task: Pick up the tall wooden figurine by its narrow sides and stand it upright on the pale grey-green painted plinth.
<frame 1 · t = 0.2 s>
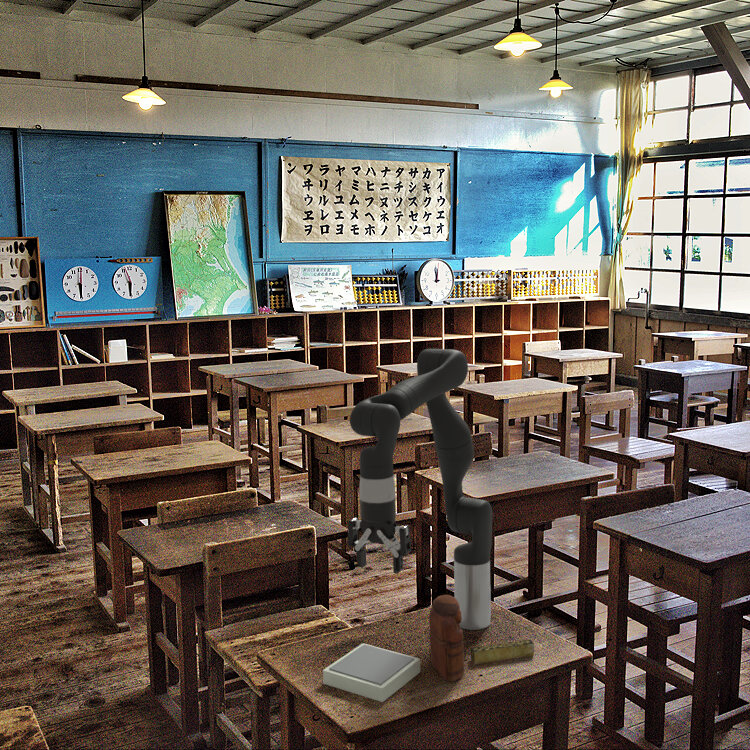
hand: (379, 569, 187), 29 cm above the table, fingers open, 8 cm apart
plinth: (372, 677, 200), on the table
wooden figurine: (447, 671, 202), on the table
decorative block: (502, 659, 208), on the table
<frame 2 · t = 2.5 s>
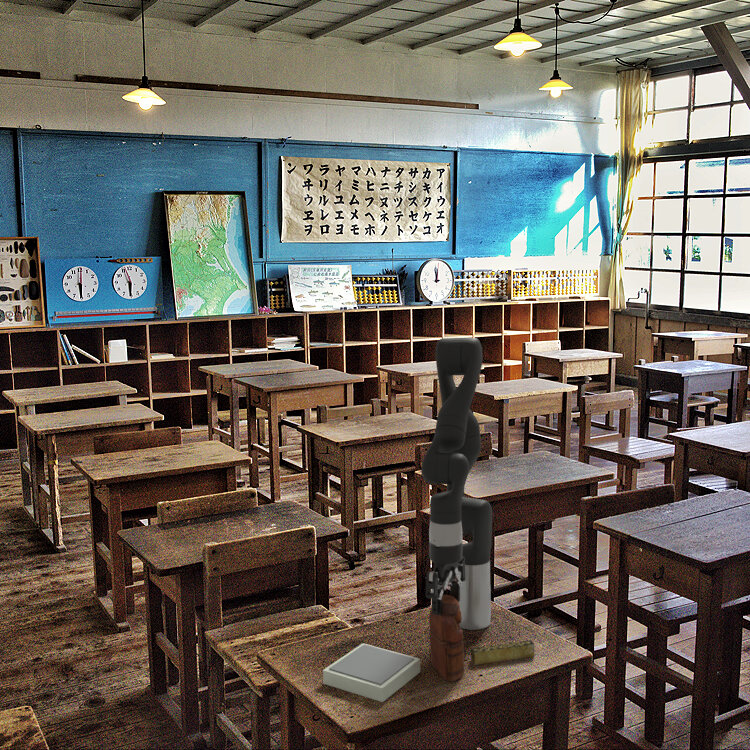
hand: (446, 607, 200), 15 cm above the table, fingers open, 8 cm apart
wooden figurine: (447, 671, 202), on the table, touching gripper
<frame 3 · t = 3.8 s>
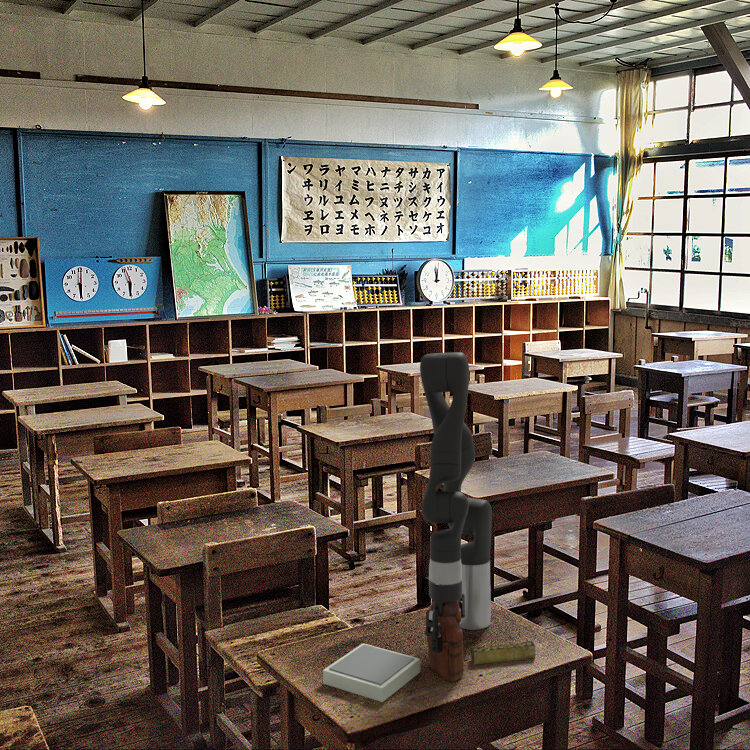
hand: (446, 645, 201), 6 cm above the table, fingers closed on wooden figurine, 8 cm apart
wooden figurine: (446, 671, 202), on the table, touching gripper
everything else where it was.
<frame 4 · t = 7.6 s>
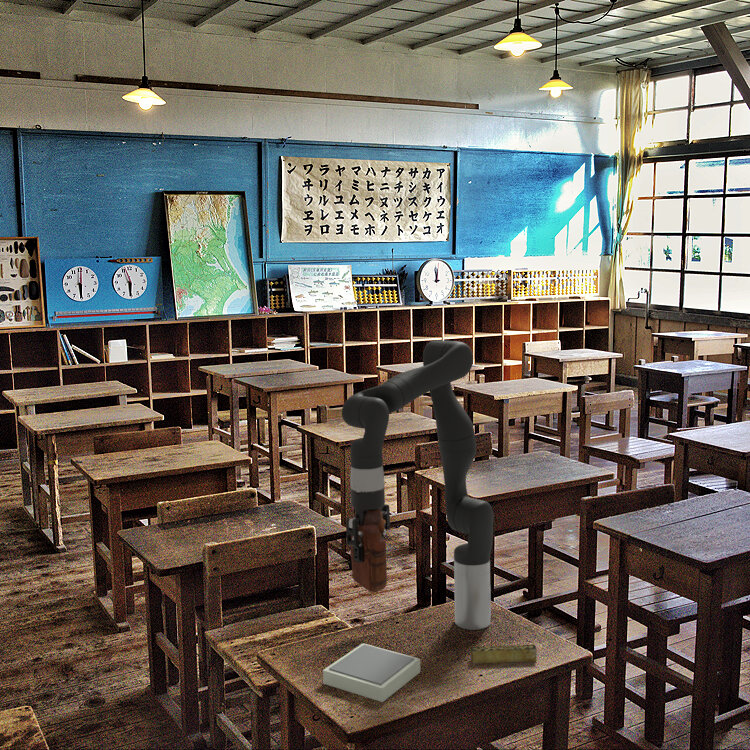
hand: (369, 556, 196), 29 cm above the table, fingers closed on wooden figurine, 8 cm apart
wooden figurine: (369, 584, 197), point 22 cm above the table, touching gripper
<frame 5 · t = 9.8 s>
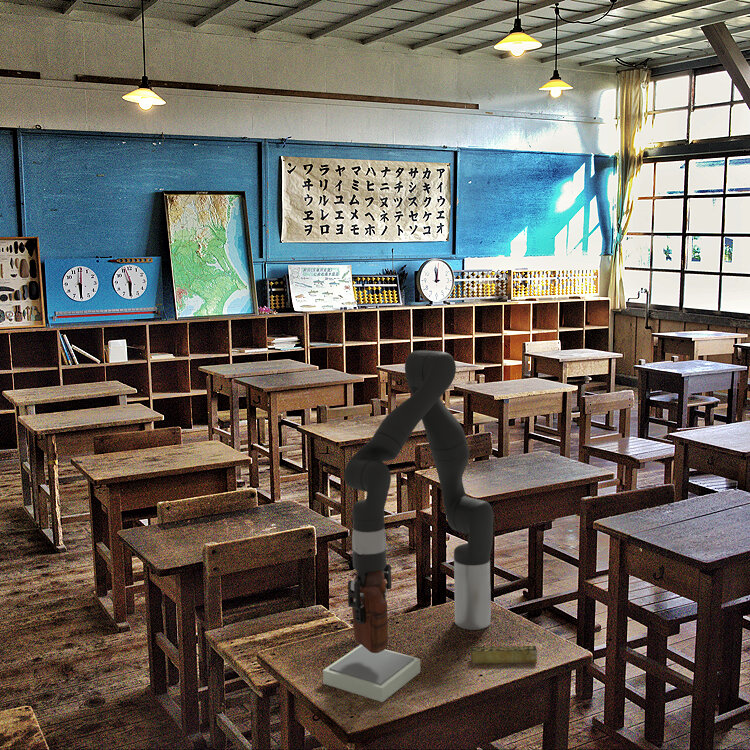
hand: (370, 616, 198), 15 cm above the table, fingers closed on wooden figurine, 8 cm apart
wooden figurine: (371, 643, 199), point 8 cm above the table, touching gripper
when the fingers open (10 cm above the table, at t = 11.5 s): wooden figurine stays where it is, resting on plinth.
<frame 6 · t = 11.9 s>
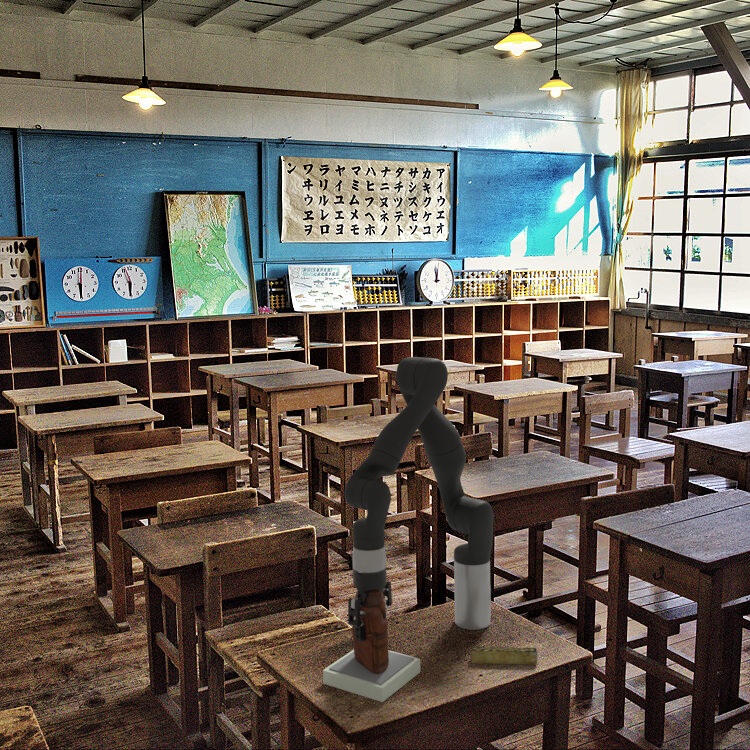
hand: (371, 633, 198), 11 cm above the table, fingers open, 8 cm apart
wooden figurine: (371, 663, 199), point 3 cm above the table, touching plinth
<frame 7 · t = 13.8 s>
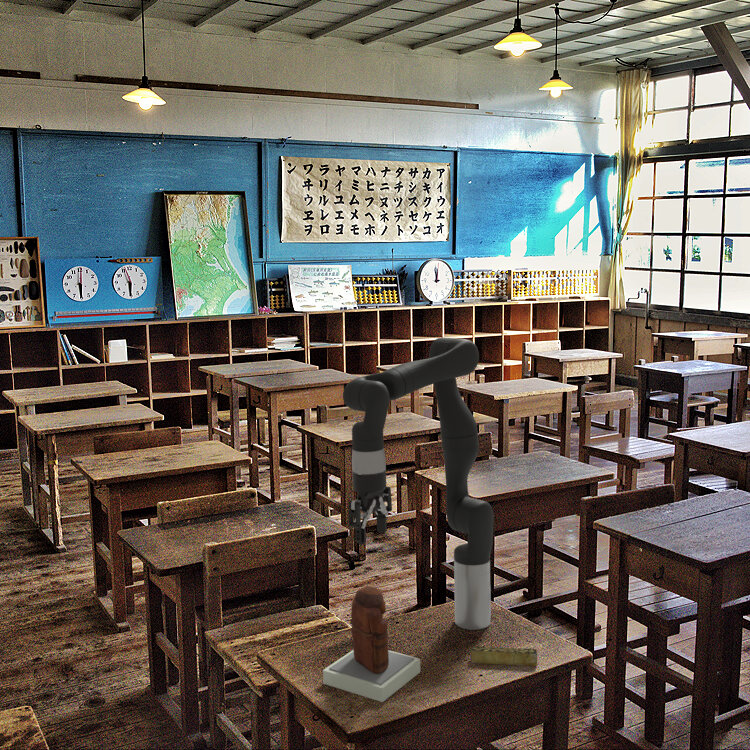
hand: (371, 537, 198), 32 cm above the table, fingers open, 8 cm apart
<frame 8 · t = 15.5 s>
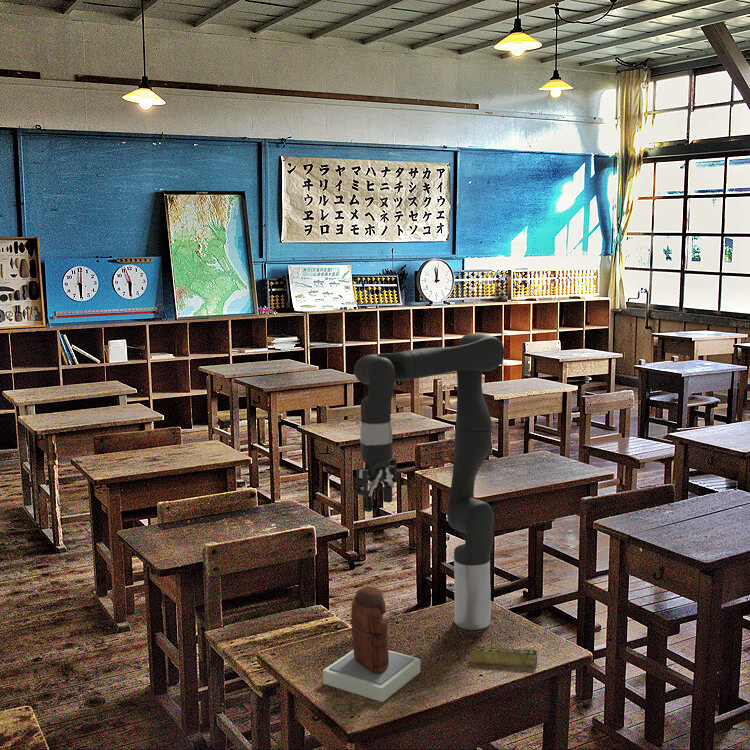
hand: (378, 506, 209), 36 cm above the table, fingers open, 8 cm apart
at the end: wooden figurine inside the target area on the plinth (0.2 cm from its centre), point 3.3 cm above the plinth's base; wooden figurine tilted 0°; the gripper is holding nothing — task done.
